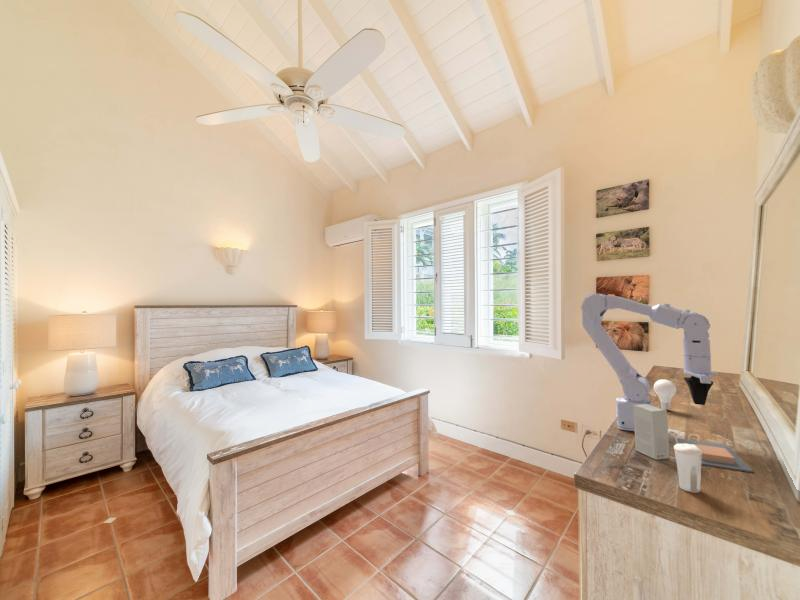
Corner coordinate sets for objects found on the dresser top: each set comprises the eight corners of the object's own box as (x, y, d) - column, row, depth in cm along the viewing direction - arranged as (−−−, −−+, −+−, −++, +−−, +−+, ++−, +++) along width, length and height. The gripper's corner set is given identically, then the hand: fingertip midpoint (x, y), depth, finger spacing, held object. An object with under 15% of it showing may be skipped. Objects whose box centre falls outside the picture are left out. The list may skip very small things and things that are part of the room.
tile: (693, 450, 86) (701, 459, 81) (693, 444, 86) (700, 453, 81) (725, 454, 83) (734, 464, 78) (724, 448, 83) (734, 457, 78)
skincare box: (670, 458, 82) (668, 410, 83) (655, 460, 82) (653, 411, 82) (648, 448, 88) (646, 403, 89) (634, 450, 88) (632, 404, 88)
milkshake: (686, 480, 72) (684, 434, 72) (710, 494, 67) (708, 444, 67) (666, 481, 72) (664, 435, 72) (688, 495, 67) (686, 445, 67)
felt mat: (690, 463, 80) (690, 461, 80) (674, 439, 94) (674, 437, 94) (753, 472, 75) (753, 471, 75) (726, 446, 89) (726, 444, 89)
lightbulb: (650, 408, 121) (648, 378, 122) (662, 406, 123) (661, 377, 124) (668, 413, 115) (667, 382, 116) (681, 411, 117) (680, 380, 118)
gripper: (725, 360, 86) (728, 413, 85) (707, 353, 98) (709, 399, 98) (690, 358, 89) (692, 409, 89) (676, 352, 102) (678, 396, 101)
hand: (699, 404), depth 94 cm, fingers closed
